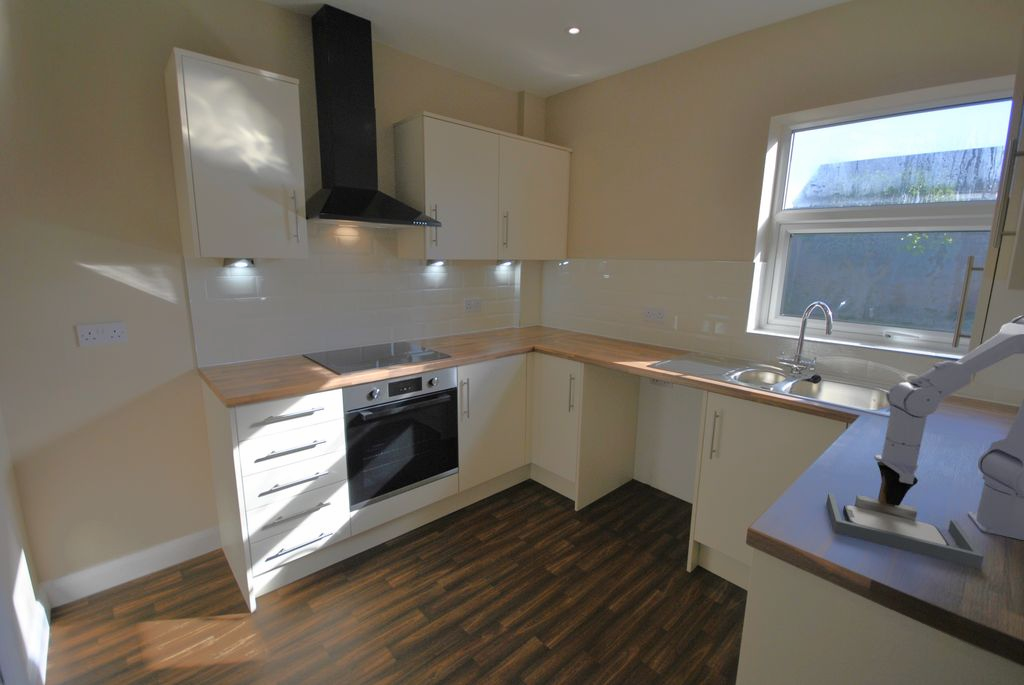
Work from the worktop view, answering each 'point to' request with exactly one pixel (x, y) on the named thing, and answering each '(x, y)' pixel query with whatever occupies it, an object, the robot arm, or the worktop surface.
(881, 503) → the scraper
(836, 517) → the dock
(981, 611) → the worktop surface
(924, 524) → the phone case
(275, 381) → the worktop surface
